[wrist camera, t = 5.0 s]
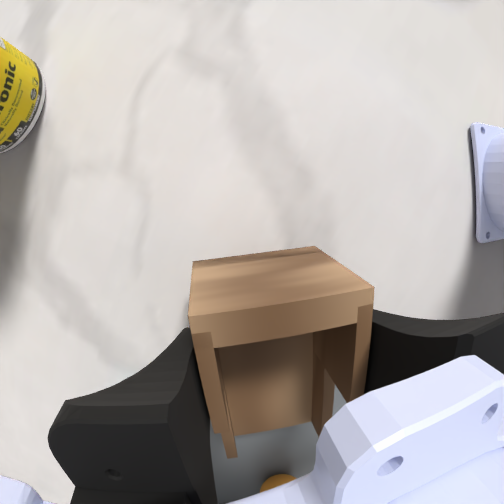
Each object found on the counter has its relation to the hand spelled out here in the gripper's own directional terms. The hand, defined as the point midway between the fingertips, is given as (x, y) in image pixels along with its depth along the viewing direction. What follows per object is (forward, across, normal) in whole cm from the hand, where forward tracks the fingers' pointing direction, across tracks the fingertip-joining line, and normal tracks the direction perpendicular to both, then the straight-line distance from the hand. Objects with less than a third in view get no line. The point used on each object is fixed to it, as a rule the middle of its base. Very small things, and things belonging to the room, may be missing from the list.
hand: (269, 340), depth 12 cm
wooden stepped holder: (+2, 0, +2) cm, 2 cm away
